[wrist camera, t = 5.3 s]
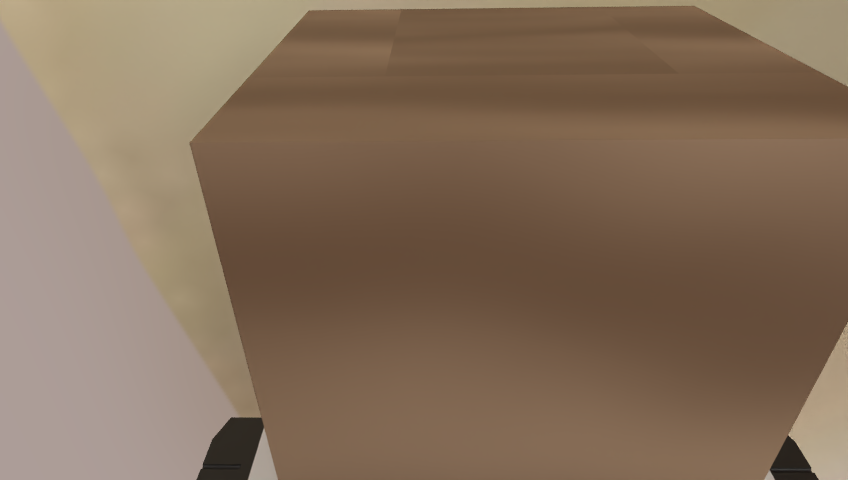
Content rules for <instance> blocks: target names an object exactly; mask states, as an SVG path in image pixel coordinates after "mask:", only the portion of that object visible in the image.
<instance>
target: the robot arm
mask: <svg viewBox="0 0 848 480" xmlns="http://www.w3.org/2000/svg"><path fill="white" fill-rule="evenodd" d="M197 480H278V478H277V475H276V471H275V467H274V463H273V459H272V455H271V452H270V448H269V444H268V440H267V436H266V433H265V429H264V425H263V421H262V418H230V420H229V421H228V422H227V423H226V424H225V425H224V427H223V428H222V429H221V430H220V431H219V432H218V434H217V435H216V436H215V437H214V438H213V440H212V442H211V444H210V447H209V450H208V452H207V455H206V457H205V460H204V462H203V468H202V469H201V470H200V473H199V475H198V478H197ZM764 480H818V478H817V476H816V475H815V473H812V471H811V467H810V465H809V463H808V462H807V460H806V459H805V457H804V455H803V454H802V452H801V451H800V449H799V447H798V446H797V444H796V443H795V441H794V440H792V439H791V438H790V437H789V436H787V438H786V440H785V441H784V443H783V445H782V447H781V449H780V451H779V453H778V455H777V457H776V458H775V460H774V462H773V464H772V466H771V468H770V470H769V472H768V474H767V475H766V477H765V479H764Z"/></svg>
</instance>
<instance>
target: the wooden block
mask: <svg viewBox="0 0 848 480" xmlns="http://www.w3.org/2000/svg"><path fill="white" fill-rule="evenodd" d="M190 146H191V150H192V154H193V158H194V161H195V165H196V169H197V173H198V177H199V181H200V184H201V188H202V192H203V196H204V200H205V203H206V207H207V211H208V215H209V219H210V223H211V226H212V230H213V234H214V238H215V242H216V245H217V249H218V253H219V257H220V261H221V265H222V268H223V272H224V276H225V280H226V284H227V287H228V291H229V295H230V299H231V303H232V307H233V310H234V314H235V318H236V322H237V326H238V329H239V333H240V337H241V341H242V345H243V349H244V352H245V356H246V360H247V364H248V368H249V371H250V375H251V379H252V383H253V387H254V391H255V394H256V398H257V402H258V406H259V410H260V413H261V417H262V421H263V425H264V429H265V433H266V436H267V440H268V444H269V448H270V452H271V455H272V459H273V463H274V467H275V471H276V475H277V478H278V480H764V479H765V477H766V475H767V474H768V472H769V470H770V468H771V466H772V464H773V462H774V460H775V458H776V457H777V455H778V453H779V451H780V449H781V447H782V445H783V443H784V441H785V440H786V438H787V436H788V434H789V432H790V430H791V428H792V426H793V424H794V422H795V421H796V419H797V417H798V415H799V413H800V411H801V409H802V407H803V405H804V404H805V402H806V400H807V398H808V396H809V394H810V392H811V390H812V388H813V387H814V385H815V383H816V381H817V379H818V377H819V375H820V373H821V371H822V369H823V368H824V366H825V364H826V362H827V360H828V358H829V356H830V354H831V352H832V351H833V349H834V347H835V345H836V343H837V341H838V339H839V337H840V335H841V333H842V332H843V330H844V328H845V326H846V324H847V322H848V87H847V86H845V85H843V84H842V83H840V82H838V81H836V80H834V79H832V78H830V77H828V76H826V75H824V74H823V73H821V72H819V71H817V70H815V69H813V68H811V67H809V66H807V65H805V64H804V63H802V62H800V61H798V60H796V59H794V58H792V57H790V56H788V55H786V54H784V53H783V52H781V51H779V50H777V49H775V48H773V47H771V46H769V45H767V44H765V43H764V42H762V41H760V40H758V39H756V38H754V37H752V36H750V35H748V34H746V33H745V32H743V31H741V30H739V29H737V28H735V27H733V26H731V25H729V24H727V23H726V22H724V21H722V20H720V19H718V18H716V17H714V16H712V15H710V14H708V13H707V12H705V11H703V10H701V9H699V8H697V7H695V6H649V7H566V8H483V9H400V10H317V11H308V12H307V13H306V15H305V16H304V17H303V18H302V19H301V20H300V21H299V22H298V23H297V25H296V26H295V27H294V28H293V29H292V30H291V31H290V32H289V33H288V34H287V36H286V37H285V38H284V39H283V40H282V41H281V42H280V43H279V44H278V46H277V47H276V48H275V49H274V50H273V51H272V52H271V53H270V54H269V56H268V57H267V58H266V59H265V60H264V61H263V62H262V63H261V64H260V65H259V67H258V68H257V69H256V70H255V71H254V72H253V73H252V74H251V75H250V77H249V78H248V79H247V80H246V81H245V82H244V83H243V84H242V85H241V87H240V88H239V89H238V90H237V91H236V92H235V93H234V94H233V95H232V96H231V98H230V99H229V100H228V101H227V102H226V103H225V104H224V105H223V106H222V108H221V109H220V110H219V111H218V112H217V113H216V114H215V115H214V116H213V118H212V119H211V120H210V121H209V122H208V123H207V124H206V125H205V126H204V128H203V129H202V130H201V131H200V132H199V133H198V134H197V135H196V136H195V137H194V139H193V140H192V141H191V142H190Z"/></svg>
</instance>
